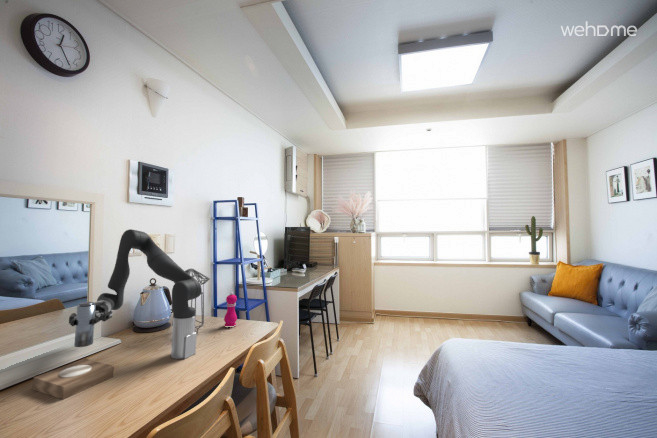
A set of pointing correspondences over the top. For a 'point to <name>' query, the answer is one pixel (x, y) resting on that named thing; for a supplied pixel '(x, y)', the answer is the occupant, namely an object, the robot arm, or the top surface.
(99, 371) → the stand
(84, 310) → the cylinder
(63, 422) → the top surface
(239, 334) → the top surface
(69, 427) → the top surface
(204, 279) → the geometric lantern
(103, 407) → the top surface
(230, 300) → the pepper mill
